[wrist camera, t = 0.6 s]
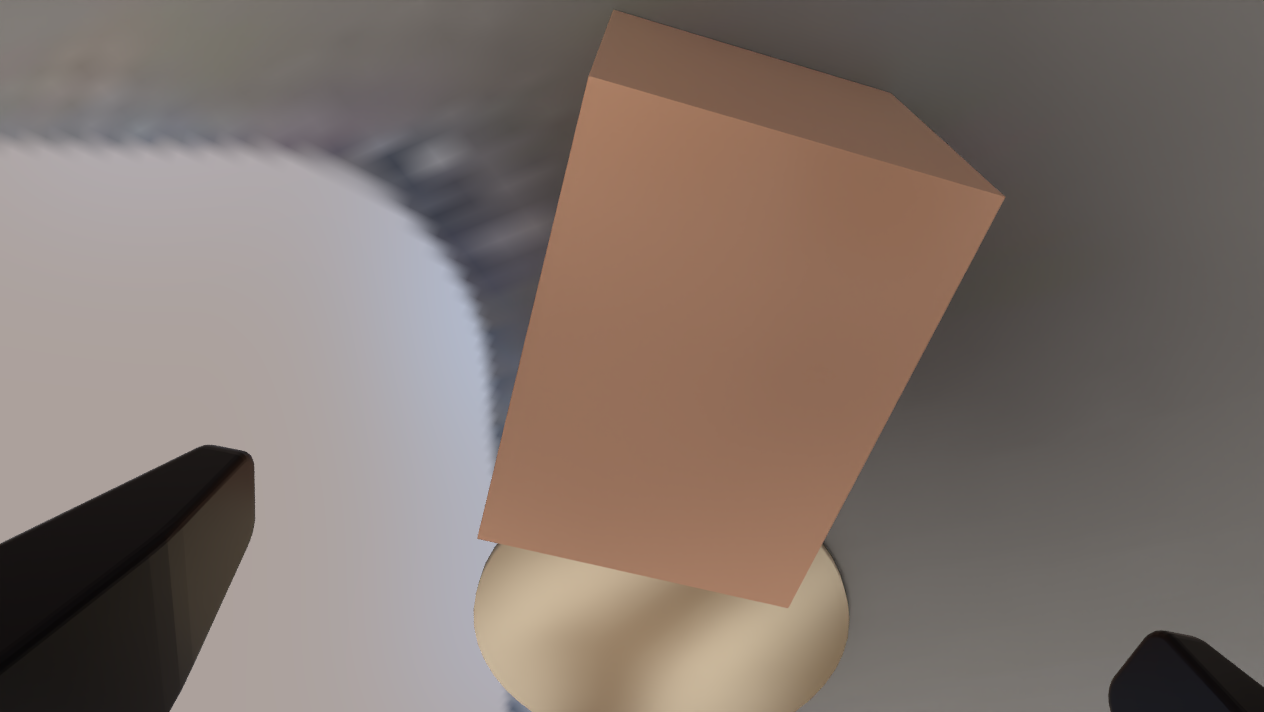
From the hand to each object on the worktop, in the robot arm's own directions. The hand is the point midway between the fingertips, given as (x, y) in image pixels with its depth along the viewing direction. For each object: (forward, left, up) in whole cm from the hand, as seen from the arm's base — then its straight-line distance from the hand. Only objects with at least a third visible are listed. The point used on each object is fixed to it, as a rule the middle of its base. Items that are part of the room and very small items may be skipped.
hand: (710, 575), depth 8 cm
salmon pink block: (-1, +2, -13) cm, 13 cm away
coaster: (-4, +15, -13) cm, 20 cm away
